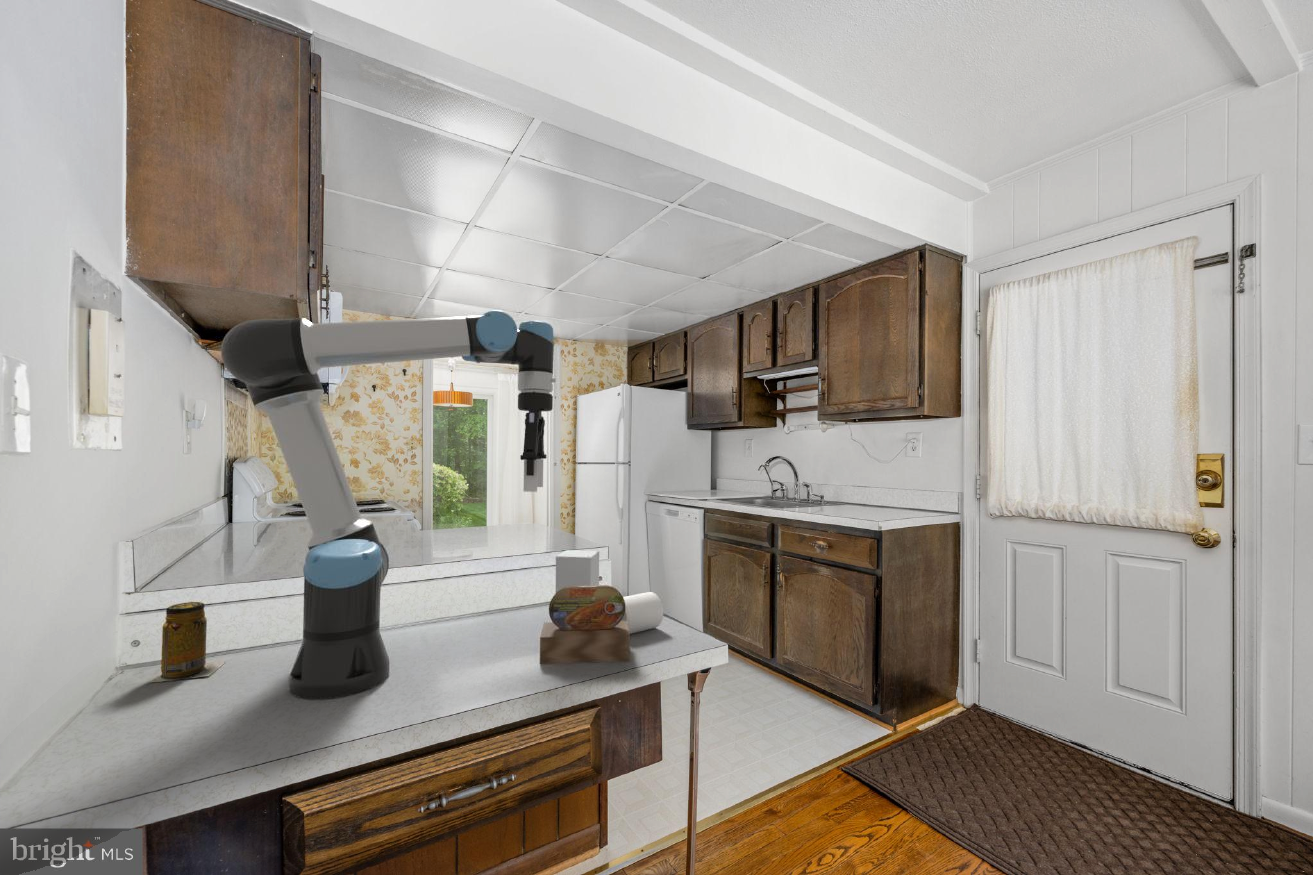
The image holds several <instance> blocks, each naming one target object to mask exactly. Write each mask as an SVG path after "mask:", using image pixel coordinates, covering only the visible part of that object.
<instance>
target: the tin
mask: <svg viewBox="0 0 1313 875" xmlns="http://www.w3.org/2000/svg"><path fill="white" fill-rule="evenodd" d="M623 597H624V596H623V595H622V593H621V592H620V591H619V590H618V589H617V588H616V587H614V586H611V585H607V584H606V585H602V584H601V585H600V584H599V586H569V587H564V588H562V589H560V590H559V591H558V592H557V593H556V592H555V593H554V595H553V596H552V597H551V599H550V602H549V606H548V615H549V618H550V620H551V622H553V623H554V624H555V625H556V626H557V627H558V628H560V629H562V630H566V631H576V630H604V629H610V628H613V627H615V626H616V625H617V624H619V622H620V621H621V620H622V618H623V616H624V614H625V601H624V598H623Z"/></svg>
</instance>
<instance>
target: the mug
mask: <svg viewBox="0 0 1313 875" xmlns="http://www.w3.org/2000/svg"><path fill="white" fill-rule="evenodd" d="M623 598H624V601H625V614H624V616H623V618H622V620H621V621H627V624H628V629H629V633H630V635H631V634H635V633H639V632H643V631H648V630H652V629H656V628H658V627H659V626H661V624H662V622H663V619H664V606H663V603H662V601H661V599H660V597H659V596H658V594H656V593H655V592H652V591H647V592H643V593H642V592H641V593H636V594H631V595H628V596H623Z"/></svg>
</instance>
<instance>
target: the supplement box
mask: <svg viewBox="0 0 1313 875" xmlns="http://www.w3.org/2000/svg"><path fill="white" fill-rule="evenodd" d="M599 585H600V551H599V550H576V549H575V550H574V549H573V550H569V549H567V550H565V551H563V552H561V553H559V554H557V555H556V556H555V594H556V593H557V592H558V591H559V590H560V589H562V588H564V587H569V586H599Z"/></svg>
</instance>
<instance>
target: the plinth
mask: <svg viewBox="0 0 1313 875" xmlns="http://www.w3.org/2000/svg"><path fill="white" fill-rule="evenodd" d="M630 639H631V634H630V633H629V629H628V624H627V621H620V622H619V624H617V625H616V626H615V627H613V628H610V629H604V630H576V631H566V630H562V629H560V628H558V627H557V626H556V625H555V624H554V623H553V622H552V621H549V622H543V625H542V629H541V632H540V637H539V664H540V665H547V664H548V665H551V664H553V665H554V664H578V663H579V664H581V663H584V664H585V663H610V662H612V663H613V662H614V663H615V662H630V656H631V652H630V650H631V648H630V647H631V645H630V644H631V640H630Z"/></svg>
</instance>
